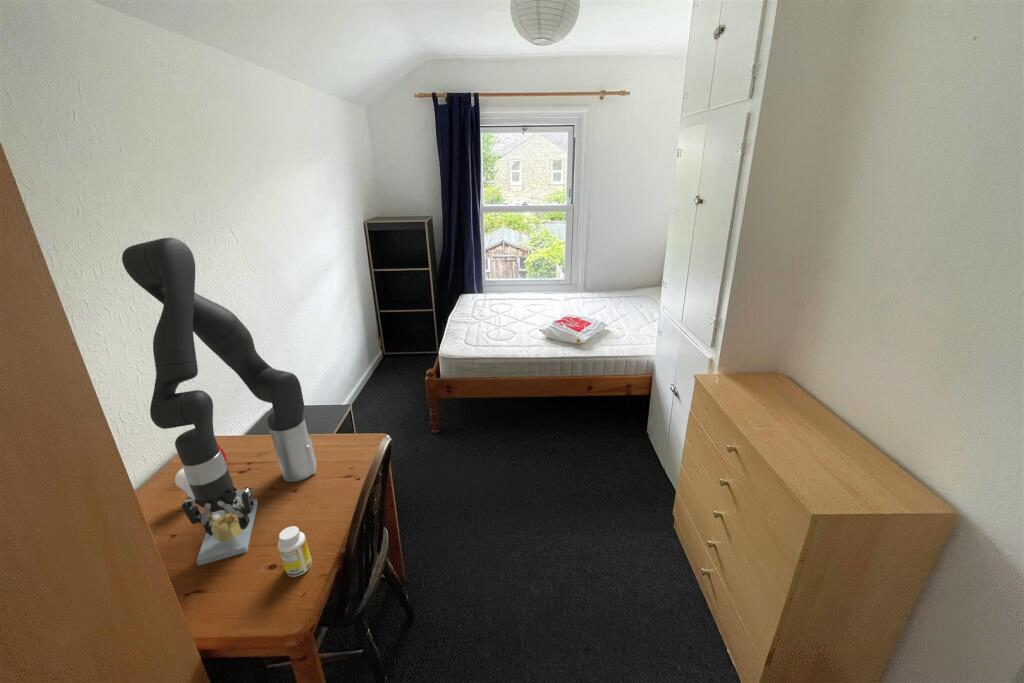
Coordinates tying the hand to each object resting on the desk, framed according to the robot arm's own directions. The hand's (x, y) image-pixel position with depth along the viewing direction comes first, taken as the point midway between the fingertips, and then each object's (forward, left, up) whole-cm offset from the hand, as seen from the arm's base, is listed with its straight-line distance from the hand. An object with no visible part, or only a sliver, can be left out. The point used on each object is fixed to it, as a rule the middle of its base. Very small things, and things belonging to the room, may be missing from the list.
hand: (229, 529), depth 105 cm
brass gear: (0, 0, -1) cm, 1 cm away
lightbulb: (+13, -23, -5) cm, 27 cm away
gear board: (+2, -6, -5) cm, 8 cm away
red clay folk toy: (+12, -39, -5) cm, 41 cm away
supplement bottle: (-15, +13, -5) cm, 21 cm away
